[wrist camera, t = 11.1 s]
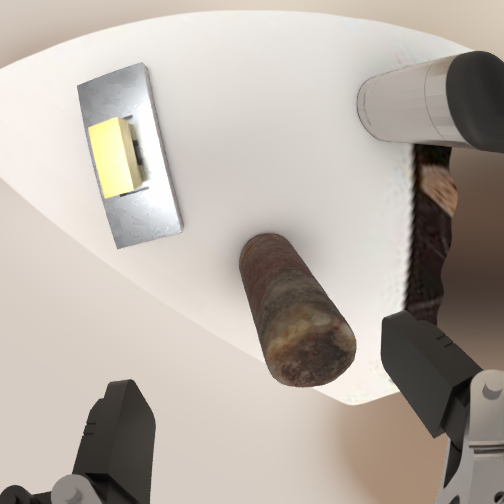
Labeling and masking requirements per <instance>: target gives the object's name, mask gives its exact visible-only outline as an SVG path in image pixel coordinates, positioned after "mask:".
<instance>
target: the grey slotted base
mask: <svg viewBox="0 0 504 504" xmlns="http://www.w3.org/2000/svg"><path fill="white" fill-rule="evenodd" d="M77 89H78V95H79V101H80V106H81V112H82V117H83V122H84V127H85V132H86V137H87V142H88V146H89V150H90V155H91V159H92V163H93V167H94V171H95V175H96V179H97V183H98V187H99V190H100V194H101V197H102V201H103V204H104V208H105V211H106V215H107V218H108V221H109V224H110V228H111V231H112V234H113V237H114V240H115V243H116V246H117V249H120V248H124V247H128V246H131V245H135V244H139V243H143V242H147V241H150V240H154V239H158V238H162V237H166V236H170V235H174V234H178V233H182V230H183V222H182V218H181V214H180V211H179V207H178V203H177V199H176V195H175V191H174V187H173V183H172V179H171V175H170V171H169V167H168V163H167V159H166V154H165V150H164V146H163V142H162V137H161V133H160V128H159V124H158V119H157V114H156V110H155V105H154V100H153V95H152V90H151V85H150V80H149V75H148V70H147V67H146V66H145V65H144V64H143V62H142V63H139V64H135V65H132V66H129V67H126V68H123V69H120V70H117V71H114V72H112V73H109V74H106V75H103V76H101V77H98V78H95V79H93V80H90V81H88V82H85V83H83V84H80V85H78V86H77ZM116 117H118V118H122V119H125V120H128V123H130V124H133V126H134V131H135V136H136V141H133V142H132V143H133V147H134V152H135V156H136V160H137V165H138V166H139V165H142V167H143V171H144V175H145V179H146V181H145V182H143V183H142V185H141V186H139V187H138V188H136V189H135V190H132V191H129V192H126V193H122V194H119V195H115V196H112V197H109V198H106V199H105V198H104V194H103V190H102V187H101V183H100V179H99V175H98V171H97V167H96V162H95V158H94V154H93V149H92V144H91V140H90V135H89V130H88V127H91V126H94V125H96V124H99V123H102V122H105V121H108V120H111V119H113V118H116Z"/></svg>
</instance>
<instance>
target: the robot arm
mask: <svg viewBox="0 0 504 504" xmlns="http://www.w3.org/2000/svg"><path fill="white" fill-rule="evenodd" d="M357 108H358V113H359V117H360V119H361V121H362V123H363V125H364V126H365V128H366V129H367V131H368V132H370V133H371V134H372V135H373V136H374V137H376V138H378V139H380V140H383V141H389V142H403V143H417V144H429V145H440V146H449V147H458V148H467V149H475V150H481V151H489V152H497V153H504V62H503V61H502V60H500V59H499V58H498V57H496V56H495V55H493V54H491V53H489V52H484V51H473V52H468V53H463V54H459V55H454V56H449V57H445V58H441V59H437V60H433V61H429V62H425V63H421V64H417V65H414V66H410V67H406V68H403V69H399V70H396V71H393V72H389V73H386V74H382V75H379V76H376V77H373V78H371V79H369V80H367V81H366V82H365V83H364V84H363V86H362V87H361V89H360V91H359V94H358V99H357ZM381 360H382V364H383V367H384V369H385V371H386V372H387V373H388V375H389V376H390V378H391V379H392V380H393V382H394V383H395V384H396V386H397V387H398V389H399V390H400V391H401V392H402V394H403V396H404V397H405V398H406V400H407V401H408V403H409V404H410V405H411V407H412V408H413V409H414V411H415V412H416V414H417V415H418V417H419V418H420V419H421V421H422V422H423V424H424V425H425V427H426V428H427V429H428V431H429V432H430V434H431V435H432V437H433V438H436V437H438V436H440V435H441V434H443V433H445V432H446V434H447V435H448V436H449V439H448V443H447V449H446V456H445V462H444V468H443V473H442V479H441V484H440V489H439V493H438V495H437V498H436V501H435V503H434V504H504V372H502V371H499V370H494V369H490V370H485V371H484V370H483V369H481V368H480V367H479V366H478V365H477V364H476V363H475V362H474V361H473V360H472V359H471V358H470V357H469V356H468V355H467V354H466V353H465V352H464V351H463V350H462V349H461V348H459V346H457V345H456V344H454V343H453V341H452V340H451V339H450V338H449V337H448V336H446V335H445V333H443V332H442V331H441V330H440V329H439V328H438V327H437V326H436V325H434V324H431V323H429V322H427V321H424V320H420V321H417V320H416V319H415V318H414V317H413V316H412V315H411V314H410V313H409V312H407V311H405V310H403V311H400V312H398V313H395V314H392V315H390V316H387V317H384V318H383V320H382V334H381ZM86 423H87V425H86V426H85V429H84V432H83V433H84V436H82V439H81V443H80V446H79V450H78V453H77V457H76V461H75V464H74V468H73V472H72V475H67V476H65V477H63V478H61V479H60V480H59V481H57V482H56V484H55V485H54V487H53V489H52V491H50V492H45V493H40V494H34V495H31V494H30V493H29V492H28V491H27V490H25V489H24V488H23V487H21V486H18V485H12V486H9V487H7V488H6V489H5V490H4V491H3V492H2V493H1V495H0V504H150V491H151V490H150V489H151V475H152V462H153V450H154V439H155V430H156V424H155V418H154V415H153V412H152V410H151V408H150V407H149V405H148V403H147V402H146V400H145V398H144V397H143V395H142V393H141V392H140V390H139V388H138V386H137V385H136V383H135V382H134V381H133V380H131V379H129V380H122V381H114V382H110V383H109V384H108V386H107V389H106V392H105V396H104V398H102V399H99V400H98V401H97V402H96V404H95V405H94V406H93V407H92V409H91V410H90V413H89V416H88V419H87V422H86Z"/></svg>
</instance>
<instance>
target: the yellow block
mask: <svg viewBox="0 0 504 504" xmlns="http://www.w3.org/2000/svg"><path fill="white" fill-rule="evenodd" d="M88 130H89V135H90V140H91V144H92V149H93V154H94V158H95V162H96V167H97V171H98V175H99V179H100V183H101V187H102V190H103V194H104V198H105V199H106V198H109V197H112V196H115V195H119V194H122V193H126V192H129V191H132V190H135V189H136V188H138V187H139V186H141V185H142V183H143V182H145V181H146V179H145V175H144V171H143V167H142V165H139V166H138V165H137V160H136V156H135V152H134V147H133V143H132V142H133V141H136V136H135V131H134V126H133V124H130V123H128V120H125V119H122V118H118V117H116V118H113V119H111V120H108V121H105V122H102V123H99V124H96V125H94V126H91V127H88Z"/></svg>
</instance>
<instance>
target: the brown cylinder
mask: <svg viewBox="0 0 504 504" xmlns="http://www.w3.org/2000/svg"><path fill="white" fill-rule="evenodd" d="M239 269H240V273H241V277H242V281H243V284H244V288H245V292H246V295H247V298H248V301H249V305H250V309H251V312H252V315H253V320H254V323H255V326H256V329H257V333H258V337H259V341H260V344H261V348H262V351H263V355H264V358H265V361H266V364H267V366H268V369H269V371H270V373H271V375H272V376H273V378H275V379H276V380H277V381H278V382H280V383H281V384H284V385H287V386H295V387H313V386H321V385H325V384H327V383H330V382H332V381H334V380H335V379H337V378H338V377H339V376H340V375H341V374H343V373H344V372H345V371H346V370H347V368H349V367H350V365H351V364H352V362H353V361H354V358H355V353H356V339H355V336H354V333H353V331H352V329H351V328H350V326H349V324H348V323H347V321H346V320H345V318H344V317H343V316H342V315H341V313H340V312H339V310H338V309H337V307H336V306H335V305H334V303H333V302H332V301H331V300H330V298H329V297H328V296H327V294H326V292H325V291H324V289H323V288H322V287H321V285H320V284H319V283H318V281H317V280H316V279H315V277H314V276H313V275H312V273H311V272H310V270H309V269H308V267H307V266H306V264H305V263H304V261H303V260H302V259H301V257H300V256H299V255H298V253H297V252H296V250H295V249H294V248H293V247H292V245H291V244H290V243H289V241H288V240H286V239H285V238H284V237H282V236H280V235H278V234H266V235H260V236H257V237H255V238H254V239H252V240H250V241H249V242H248V244H247V245H246V246H245V247H244V249H243V251H242V254H241V257H240V261H239Z"/></svg>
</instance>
